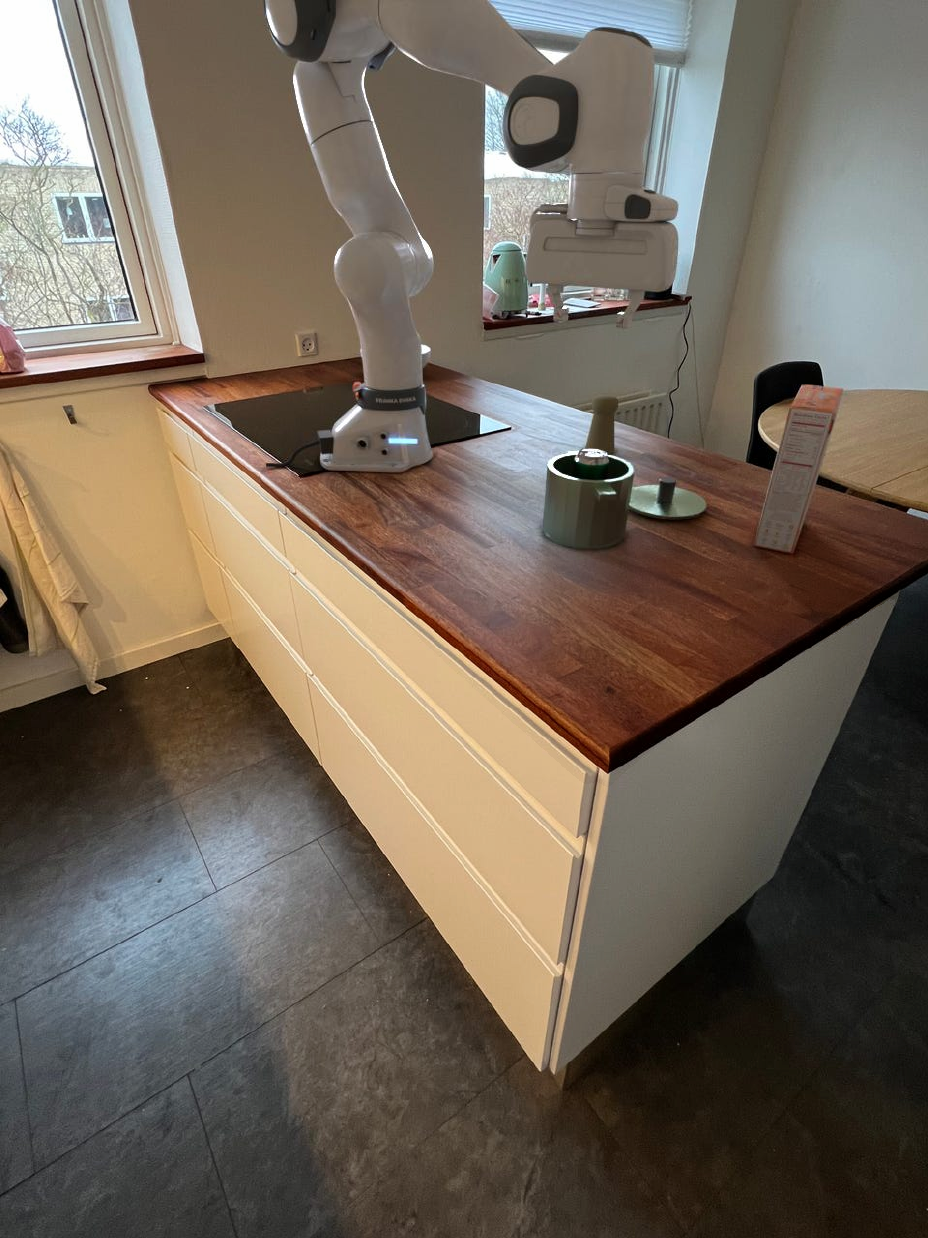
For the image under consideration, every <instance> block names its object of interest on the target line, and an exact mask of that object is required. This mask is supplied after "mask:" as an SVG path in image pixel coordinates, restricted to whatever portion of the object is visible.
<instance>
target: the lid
mask: <svg viewBox="0 0 928 1238" xmlns="http://www.w3.org/2000/svg"><path fill="white" fill-rule="evenodd" d="M676 485H677V480H676V478H673V477H668V476H664V477H661V478H659V483H658V484H645V485H639V486H635V487H634V486H633V487H632V492H631V498H630V504H629V510H630V511H633V512H634V513H637V514H640V515H642V516H646V517H650V518H655V519H658V520H659V519H660V520H667V521H668V520H669V521H675V520H676V521H680V520H682V521H683V520H689V519H694V518H697V517H700V516H702V514H704V513H705V511H706V510H707V502H706V500H705V499H704V498H703V497H702V496H701V495H699V494H697V493H695V492H693V491H690V490H688V489H684V488H681V487H677V486H676Z"/></svg>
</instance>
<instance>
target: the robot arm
mask: <svg viewBox="0 0 928 1238" xmlns="http://www.w3.org/2000/svg"><path fill="white" fill-rule="evenodd" d="M262 2H263V3H262V5H263V12H264V17H265V21H266V24H267V27H268V30H269V32H270V35H271V37H272V39H273V41H274V42H275V45H276V46H277V47H278V49H279V50H280V51H281V52H282V54H283V55H285V56H286V57H288V58H291V59H293V60H296V61H297V62H296V64H295V66H294V68H293V74H292V81H293V86H294V93H295V98H296V103H297V108H298V111H299V116H300V120H301V124H302V127H303V130H304V133H305V136H306V140H307V143H308V145H309V148H310V151H311V154H312V157H313V159H314V162H315V165H316V168H317V170H318V173H319V176H320V178H321V181H322V185H323V187H324V190H325V192H326V195H327V196H326V197H327V198H328V201H329V202H330V204H331V206H332V207H333V209H334V210H335V211H336V212H337V213H338V215H340V217H341V218H342V219H343V220H344V222H345V224H346V225H347V226H348V228H349V230H350V231H351V233H352V235H353V237H352V238H350V239H349V240H347V241H346V242H345V243H344V244H343V245H341V247H340V248H339V249H338V251H337V253H336V254H335V258H334V262H333V275H334V279H335V283H336V286H337V287H338V290H339V291H340V293H341V294H342V295H343V297H344V298H345V299H346V300H347V302H348V304H349V307H350V310H351V314H352V316H353V319H354V322H355V325H356V329H357V333H358V336H359V337H358V338H359V342H360V350H362V356H361V360H362V361H361V362H362V373H363V381H364V382H363V383H362V382H360V381H355V382H354V383H353V384H352V392H353V394H354V402H355V403H354V404H355V405H354V406H353V407H352V408H350V409H349V410H348V411H346V413H344V414H343V415H342V416H341V417H340V418H339V419H337V421H336V422H335V423H334V424H333V426H332V427H331V429H324V430H317V440H314V441H311V442H308V443H306V444H303V445H301V446H299V447H298V448H296V449H295V450H293V452H292V453H291V455H290V458H289V459H288V460H287V461H284V462H279V463H277V462H265V467H266V468H283V467H287V466H289V465H291V464H292V463H293V462H294V461H295V459H296V457H297V455H298V454H299V453H300V452H302V451H303V450H306V449H309V448H311V447H314V446H318V448H319V450H320V455H319V463H320V465H321V467H322V468H324V469H325V470H327V471H341V472H342V471H343V472H344V471H346V472H370V473H371V472H373V473H374V472H376V473H403V472H406V471H408V470H409V469H411V468H413V467H416V466H421V465H423V464H426V463H427V462H429V461H430V460H432V459H433V458H434V453H433V450H432V447H431V444H430V438H429V434H428V429H427V428H428V427H427V423H426V412H427V411H426V410H427V390H426V385H425V382H424V381H423V379H424V378H423V369H422V346H421V344H422V339H421V336H420V334H419V333H418V332H417V329H416V326H415V323H414V318H413V313H412V310H411V304H410V299H411V298H413V297H415V296H417V295H418V294H420V293H421V292H422V291H423V290H424V288H425V287H426V286H427V285H428V284H429V282H430V280H431V278H432V276H433V273H434V267H435V266H434V265H435V264H434V255H433V252H432V250H431V248H430V246H429V244H428V243H427V242H426V241H425V239H424V238H423V237H422V235H421V234H420V232H419V230H418V228H417V226H416V224H415V222H414V220H413V218H412V215H411V214H410V212H409V209H408V207H407V206H406V204H405V201H404V200H403V197H402V195H401V194H400V192H399V189H398V187H397V185H396V182H395V180H394V178H393V175H392V173H391V169H390V167H389V163H388V160H387V157H386V153H385V150H384V148H383V144H382V142H381V138H380V135H379V133H378V129H377V126H376V122H375V119H374V117H373V113H372V111H371V108H370V105H369V103H368V102H369V101H368V99H367V95H366V91H365V85H364V82H365V81H364V80H365V73H366V71H367V70H368V71H370V72H373V73H378V72H379V71H381V69H382V68H383V66H384V64H385V62H386V60H387V58H388V57H389V56H391V55H392V54H393V53H394V52H395V51H397V49H398V50H399V51H400V52H402V54H404V55H406V56H407V57H408V58H410V59H412V60H414V61H415V62H417V63H418V64H420V65H422V66H424V67H426V68H428V69H429V70H430V69H431V70H433V71H437V72H440V73H445V74H448V75H453V76H456V77H461V78H465V79H468V80H470V81H471V80H472V81H475V82H478V83H480V84H483V85H485V86H487V87H489V88H492V89H493V90H495V91H496V92H498V93H499V94H501V95H502V96H503V97H505V98H506V99H507V101H506V103H505V106H504V110H503V114H502V121H501V122H502V125H501V130H502V132H501V133H502V140H503V144H504V148H505V150H506V153H507V155H508V156H509V158H510V160H511V161H512V162H513V163H514V164H515V165H517V166H518V167H520V168H523V169H525V170H527V171H530V172H536V173H545V174H555V175H556V174H557V175H566V176H569V185H568V197H567V198H568V199H567V203H565V202H563V203H552V204H551V203H549V202H546V203H541V204H540V205H539V207H537V208H535V209H534V210H533V212H532V214H531V215H530V218H529V229H528V230H529V231H528V232H529V239H528V245H527V249H526V255H525V257H526V258H525V265H524V274H525V275H524V276H525V277H526V280H527V282H528V283H530V284H542V285H547V291H546V293H547V296H548V299H549V301H550V304H551V306H552V308H553V315H552V316H553V317H552V320H553V322H556V323H557V322H558V323H565V322H566V323H567V322H568V320H569V313H570V306H565V305H564V301H563V299H562V295H561V293H564V292H565V291H564V289H565V286H569V287H570V286H571V287H581V288H597V289H598V288H599V289H610V290H626V291H627V297H626V298H627V300H629V301H630V302H629V303H628V305H627V307H626V309H625V310H624V311H621V312H618V313H617V314H616V323H615V327H616V329H625V330H629V329H630V328H631V327H632V323H633V318H634V317H633V316H634V313H636V311H637V309H638V308H639V307H640V305H641V303H643V300H645V299H644V298H645V292H651V293H652V292H653V293H661V292H664V291H667V290H668V289H670V287H671V286H672V285H673V284H674V282H675V279H676V274H677V268H678V259H679V233H678V230H677V227H676V226H675V225H674V224H673V223H672V221H674V220H675V219H676V218H677V215H678V212H679V202H678V201H677V200H676V199H674V198H672V197H670V196H669V197H668V196H666V195H664V194H661V193H659V192H656V191H655V190H652V189H649V188H647V187H645V186H644V185H643V184H644V183H643V181H644V175H645V168H644V167H645V165H644V149H645V144H646V140H647V138H648V135H649V133H650V132H649V131H650V128H651V121H652V112H653V102H654V89H655V69H656V68H655V66H656V65H655V52H654V48H653V45H652V44H651V42H650V41H649V39H648V38H647V37H645V36H643V35H642V34H640V33H638V32H635V31H632V30H626V29H624V28H619V27H611V26H599V27H595V28H592V29H590V30H589V31H588V32H587V33H586V34H585V35H584V36H583V38H582V39H581V41H580V42H579V44H578V45H576V47H575V48H574V49H573V50H572V51H571V52H569V53H568V54H567V55H566V56H564V57H563V58H561V59H560V60H558V61H557V62H555V63H553V61H551V60H550V59H549V58H547V57H546V56H545V55H544V54H543V53H542V52H540V50H538V49H537V48H536V47H535V46H534V45H533V44H531V43H530V42H529V41H528V40H527V39H526V38H525V37H523V36H522V34H520V32H518V31H517V30H516V29H515V28H513V27H512V25H511V24H510V23H509V22H508V21H507V20H506V18H504V17H503V15H502V14H501V13H500V12H499V11H498V10H497V9H496V8H495V6H494V5H493V4H492V3H491V2H490V1H489V0H262ZM670 221H671V222H670Z"/></svg>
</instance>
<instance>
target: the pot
mask: <svg viewBox="0 0 928 1238" xmlns="http://www.w3.org/2000/svg"><path fill="white" fill-rule="evenodd" d="M578 451H579V450H573V451H570V450H569V451H567V452H566V453H563V454H559V455H557V456H554V457H553V458H551V459H550V460H549V461H548V462H547V467H546V477H545V479H546V480H545V490H544V491H545V493H544V503H543V518H542V532H543V534H544V535H545V537H546V538H548V539H549V540H550V541H551V542H553V543H556V544H558V545H560V546H563V547H568V548H571V549H578V550H602V549H603V550H604V549H607V548H611V547H614V546H617V545H618V544H620V543H621V542H622V541H623V540H624V538H625V534H626V529H627V523H628V516H629V511H630V509H629V504H630V498H631V492H632V488H633V485H634V478H635V467H634V465H633V464H632V463H630V461H627V460H625V459H623V458H621V457H618V456H615V455H611V454H608V455H607V457H608V459H609V467H608V475H607V480H585V479H578V478H573V468H574V459H575V457H576V456H577V455H578Z"/></svg>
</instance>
